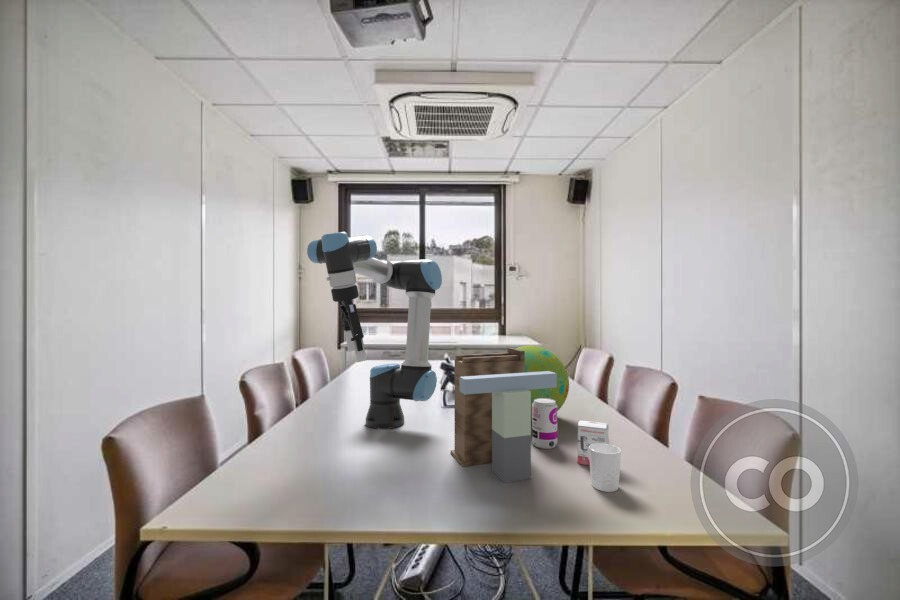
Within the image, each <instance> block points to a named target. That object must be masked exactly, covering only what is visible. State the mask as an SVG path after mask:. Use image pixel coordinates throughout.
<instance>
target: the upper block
mask: <svg viewBox="0 0 900 600" xmlns="http://www.w3.org/2000/svg"><path fill="white" fill-rule="evenodd" d="M492 430H494V431H495V432H497V433H498V434H499V435H501V436H502V437H503V438H510V437H518V436H527V435H531V436H532V421H531V391H529V390H517V391H504V392H492Z"/></svg>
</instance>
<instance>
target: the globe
mask: <svg viewBox="0 0 900 600" xmlns="http://www.w3.org/2000/svg"><path fill="white" fill-rule="evenodd" d="M515 349H519V350H523V351H525V373H526V372H542V371H551V372H554V373H557V387H555V388H542V389H530V390H529V391H531V422H532V404H533V402H534V400H535V399H538V398H548V399H553V400H555V402H556V404H557V412H558V411H559V410H561V408H562V407H563V406H564V404H565V402H566V401H567V398H568V396H569V389H570V379H569V375H568V372H567V369H566V366H565V365H564V363H563V361H561V359H560V358H559V357H558V356H557V355H556V354H555V353H554V352H553V351H551V350H550V349H549V350H548V349H547V348H544V347H543V346H542V347H541V346H537V345H522V346H519V347H516V348H515Z"/></svg>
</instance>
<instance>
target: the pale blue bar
mask: <svg viewBox="0 0 900 600" xmlns="http://www.w3.org/2000/svg"><path fill="white" fill-rule="evenodd" d="M459 385H460V392H461V393H463V394H464V395H466V394H479V393H491V392H504V391H517V390H530V389H542V388H555V387H557V373H554V372H551V371H542V372H526V373H510V374H495V375H479V376H463V377H459Z"/></svg>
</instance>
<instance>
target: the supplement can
mask: <svg viewBox="0 0 900 600" xmlns="http://www.w3.org/2000/svg"><path fill="white" fill-rule="evenodd" d="M531 444H533V445H534V446H535V447H536V448H538V449H543V450H544V449H545V450H551V449H555V448H556V447H557V445H558V411H557V404H556V402H555V400H553V399H548V398H538V399H535V400H534V402H533V404H532V421H531Z"/></svg>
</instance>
